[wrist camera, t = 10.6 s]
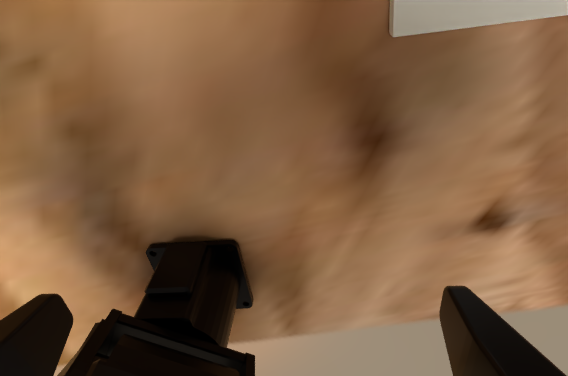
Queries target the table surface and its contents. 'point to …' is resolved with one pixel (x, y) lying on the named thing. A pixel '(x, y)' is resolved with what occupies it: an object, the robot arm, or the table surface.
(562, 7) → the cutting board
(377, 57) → the table surface
